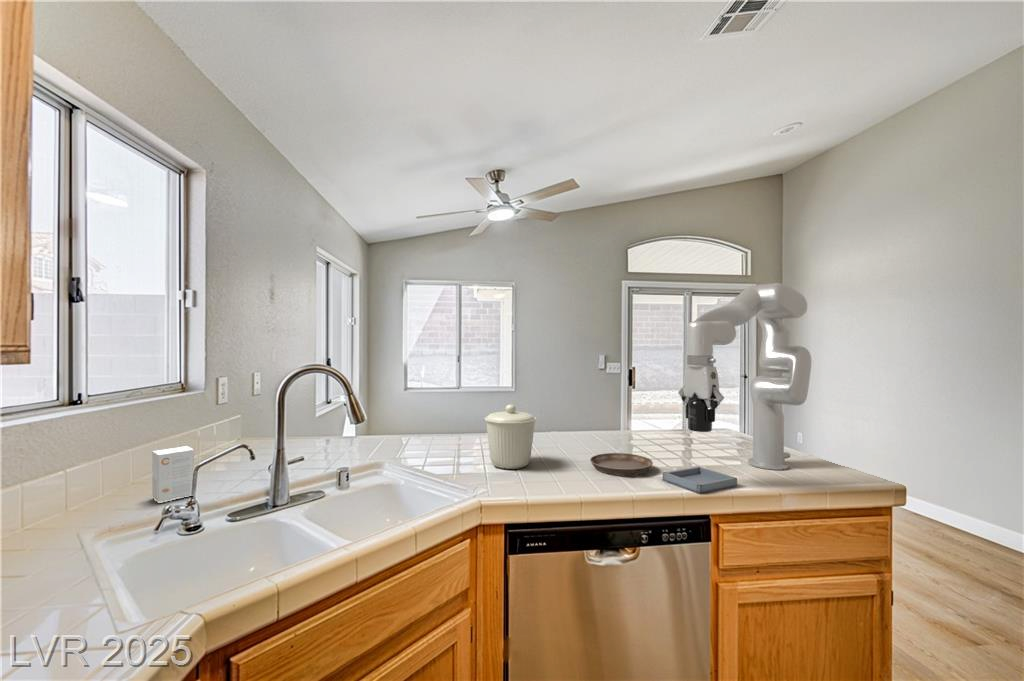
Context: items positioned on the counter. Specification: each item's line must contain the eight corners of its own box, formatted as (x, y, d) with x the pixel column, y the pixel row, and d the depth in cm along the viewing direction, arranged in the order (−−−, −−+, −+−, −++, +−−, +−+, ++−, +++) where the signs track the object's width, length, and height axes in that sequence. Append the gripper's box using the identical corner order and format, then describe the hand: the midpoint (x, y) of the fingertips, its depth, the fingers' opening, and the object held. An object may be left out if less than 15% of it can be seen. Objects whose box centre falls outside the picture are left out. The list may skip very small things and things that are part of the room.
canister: (545, 463, 161) (546, 403, 161) (518, 476, 146) (519, 410, 146) (503, 456, 171) (503, 400, 171) (473, 467, 155) (474, 405, 155)
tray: (698, 474, 149) (698, 466, 149) (737, 486, 137) (737, 478, 137) (662, 480, 142) (662, 472, 142) (699, 494, 129) (699, 485, 129)
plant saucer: (589, 476, 146) (589, 466, 146) (590, 460, 167) (590, 451, 167) (656, 480, 143) (656, 470, 143) (648, 463, 163) (648, 454, 163)
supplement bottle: (714, 433, 135) (714, 392, 135) (690, 432, 137) (690, 392, 137) (709, 428, 142) (709, 390, 142) (686, 427, 143) (686, 389, 143)
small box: (187, 491, 128) (187, 445, 128) (194, 496, 124) (194, 449, 124) (151, 499, 122) (151, 450, 122) (157, 504, 118) (158, 454, 118)
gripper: (733, 362, 133) (733, 423, 133) (686, 360, 149) (686, 415, 149) (715, 363, 130) (715, 425, 130) (669, 360, 145) (669, 416, 145)
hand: (700, 419), depth 139 cm, fingers closed on supplement bottle, 6 cm apart
